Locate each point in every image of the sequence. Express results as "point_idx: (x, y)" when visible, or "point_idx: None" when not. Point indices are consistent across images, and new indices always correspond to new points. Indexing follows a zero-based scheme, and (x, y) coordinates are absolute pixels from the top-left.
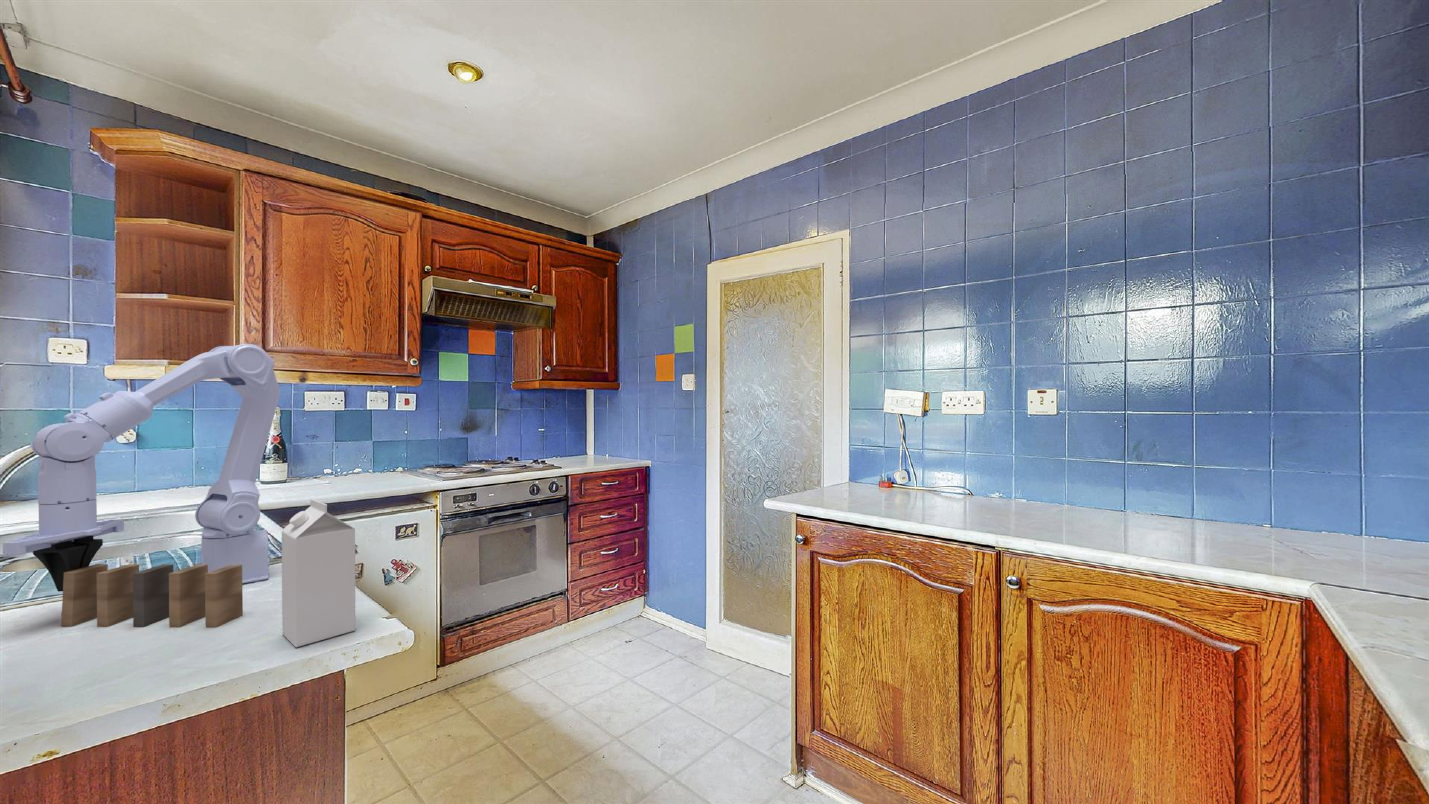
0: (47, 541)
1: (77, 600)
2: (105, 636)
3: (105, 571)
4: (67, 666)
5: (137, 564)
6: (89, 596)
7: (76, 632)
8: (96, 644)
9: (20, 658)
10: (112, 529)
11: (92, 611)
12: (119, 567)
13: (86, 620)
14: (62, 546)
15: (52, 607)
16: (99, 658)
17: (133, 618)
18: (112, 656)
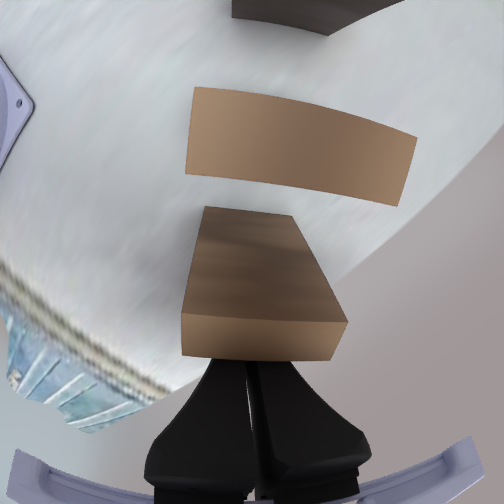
0: (432, 491)
1: (297, 247)
2: (385, 66)
3: (370, 183)
4: (494, 57)
5: (200, 94)
6: (257, 245)
7: None
8: (426, 58)
9: (456, 164)
10: (51, 480)
11: (241, 219)
12: (278, 167)
13: (254, 213)
14: (328, 483)
15: (158, 355)
16: (476, 23)
17: (337, 30)
18: (470, 6)
